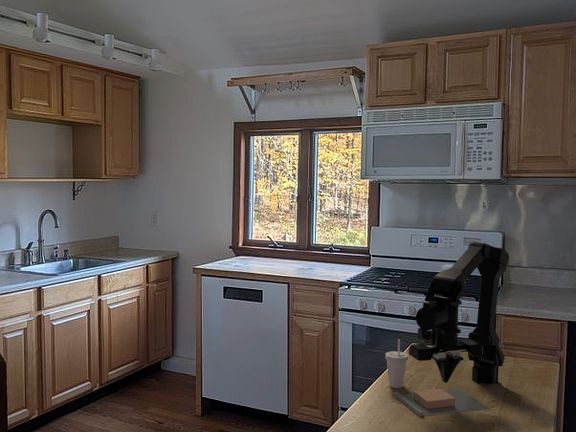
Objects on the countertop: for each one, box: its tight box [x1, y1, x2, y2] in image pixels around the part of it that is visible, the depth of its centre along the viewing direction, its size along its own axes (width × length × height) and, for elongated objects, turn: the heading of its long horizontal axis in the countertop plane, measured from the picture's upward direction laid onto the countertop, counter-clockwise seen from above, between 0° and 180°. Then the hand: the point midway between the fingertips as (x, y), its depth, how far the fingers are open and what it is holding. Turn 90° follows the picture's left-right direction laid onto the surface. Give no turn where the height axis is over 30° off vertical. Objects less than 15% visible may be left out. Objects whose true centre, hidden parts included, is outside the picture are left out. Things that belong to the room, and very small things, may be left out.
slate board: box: [393, 388, 491, 418], centre depth 151 cm, size 20×14×2 cm
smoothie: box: [384, 338, 409, 389], centre depth 162 cm, size 6×6×14 cm
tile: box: [413, 388, 455, 409], centre depth 150 cm, size 2×7×8 cm
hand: (445, 382), depth 151 cm, fingers closed
